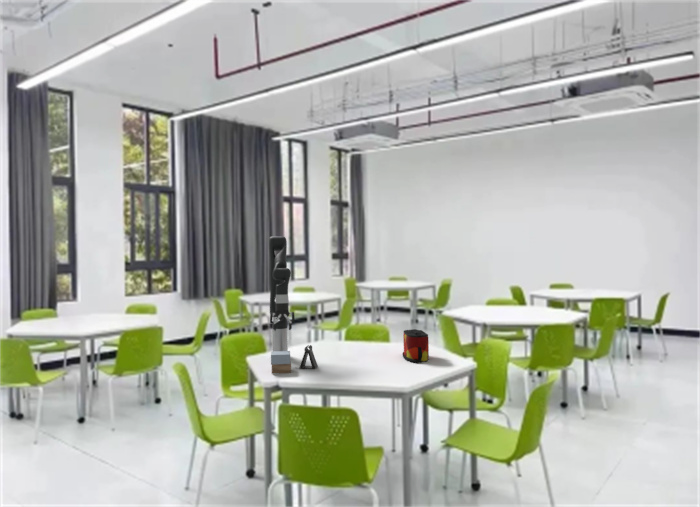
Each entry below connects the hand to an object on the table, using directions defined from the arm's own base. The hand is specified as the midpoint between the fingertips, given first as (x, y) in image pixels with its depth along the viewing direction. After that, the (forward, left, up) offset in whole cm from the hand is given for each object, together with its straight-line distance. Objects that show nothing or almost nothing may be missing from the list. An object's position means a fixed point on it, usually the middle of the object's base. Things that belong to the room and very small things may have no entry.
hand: (282, 330), depth 304 cm
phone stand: (+21, +14, -18) cm, 31 cm away
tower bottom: (+27, -1, -18) cm, 32 cm away
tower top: (+27, -1, -13) cm, 30 cm away
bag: (+7, +78, -18) cm, 80 cm away
